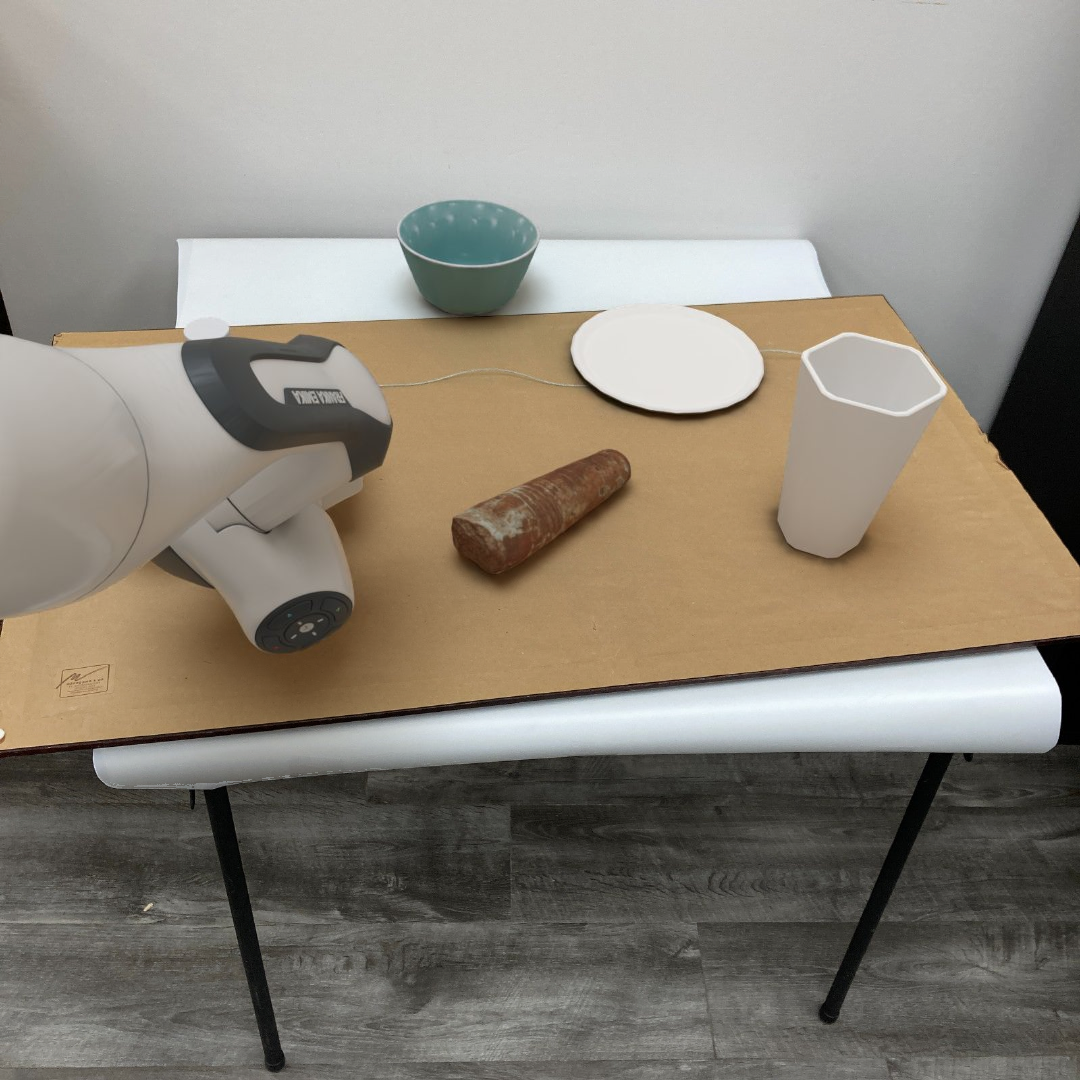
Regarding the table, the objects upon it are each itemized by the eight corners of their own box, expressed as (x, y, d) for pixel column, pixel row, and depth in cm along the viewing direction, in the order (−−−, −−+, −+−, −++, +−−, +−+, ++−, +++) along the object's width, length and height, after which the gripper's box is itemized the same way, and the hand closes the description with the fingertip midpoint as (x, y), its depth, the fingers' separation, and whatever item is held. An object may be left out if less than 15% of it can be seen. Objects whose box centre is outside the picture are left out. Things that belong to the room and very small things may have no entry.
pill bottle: (197, 401, 95) (177, 314, 89) (254, 397, 96) (238, 310, 89) (194, 435, 92) (172, 347, 85) (253, 431, 92) (236, 343, 86)
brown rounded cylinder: (443, 555, 83) (442, 506, 79) (600, 464, 93) (606, 417, 89) (492, 597, 80) (493, 548, 76) (649, 498, 90) (658, 451, 86)
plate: (751, 438, 97) (754, 428, 96) (548, 397, 100) (549, 387, 99) (771, 330, 111) (773, 321, 111) (593, 297, 115) (594, 288, 114)
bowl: (550, 275, 118) (554, 210, 112) (516, 344, 107) (518, 275, 101) (426, 253, 120) (424, 188, 114) (380, 318, 109) (375, 250, 103)
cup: (888, 513, 90) (953, 356, 78) (872, 586, 83) (941, 426, 71) (769, 478, 92) (814, 321, 81) (744, 547, 86) (789, 386, 74)
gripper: (126, 545, 76) (104, 440, 84) (381, 485, 82) (336, 393, 91) (105, 484, 71) (84, 380, 80) (376, 426, 78) (330, 335, 87)
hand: (220, 387), depth 86 cm, fingers open, 8 cm apart
